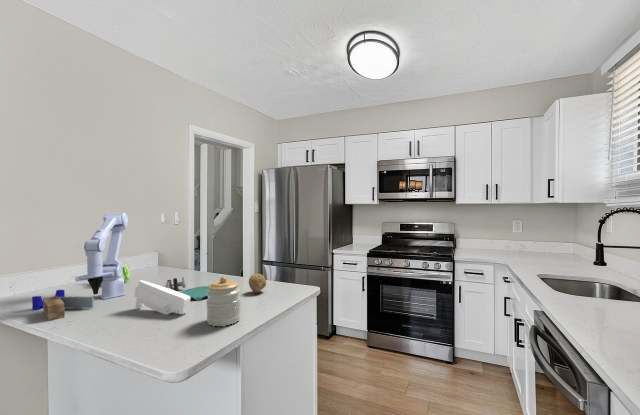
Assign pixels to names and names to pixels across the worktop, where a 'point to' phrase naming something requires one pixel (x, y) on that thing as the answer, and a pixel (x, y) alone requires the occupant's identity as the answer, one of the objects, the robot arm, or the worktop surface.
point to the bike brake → (175, 284)
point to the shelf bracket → (161, 298)
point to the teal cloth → (197, 292)
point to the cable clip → (38, 302)
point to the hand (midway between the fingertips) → (95, 293)
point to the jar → (223, 303)
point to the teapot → (125, 273)
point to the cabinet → (53, 308)
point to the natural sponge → (257, 282)
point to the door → (78, 302)
